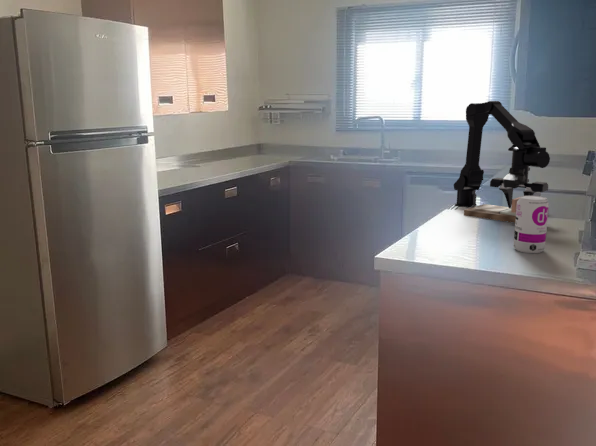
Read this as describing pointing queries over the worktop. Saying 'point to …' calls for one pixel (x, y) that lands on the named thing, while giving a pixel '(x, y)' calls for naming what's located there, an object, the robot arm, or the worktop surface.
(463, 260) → the worktop surface
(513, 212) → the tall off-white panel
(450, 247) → the worktop surface
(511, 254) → the worktop surface
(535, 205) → the supplement can
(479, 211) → the tan backing board
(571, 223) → the worktop surface
